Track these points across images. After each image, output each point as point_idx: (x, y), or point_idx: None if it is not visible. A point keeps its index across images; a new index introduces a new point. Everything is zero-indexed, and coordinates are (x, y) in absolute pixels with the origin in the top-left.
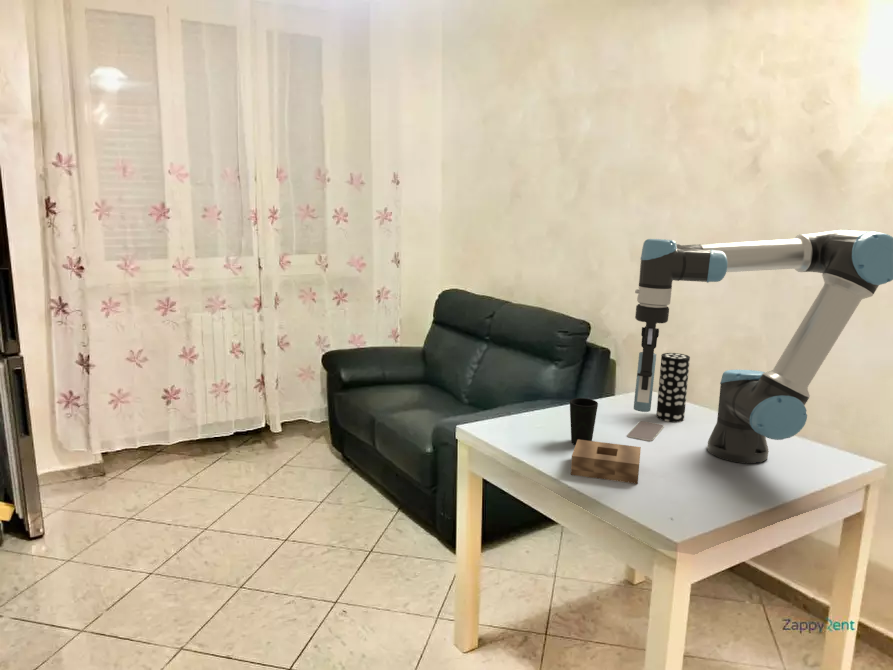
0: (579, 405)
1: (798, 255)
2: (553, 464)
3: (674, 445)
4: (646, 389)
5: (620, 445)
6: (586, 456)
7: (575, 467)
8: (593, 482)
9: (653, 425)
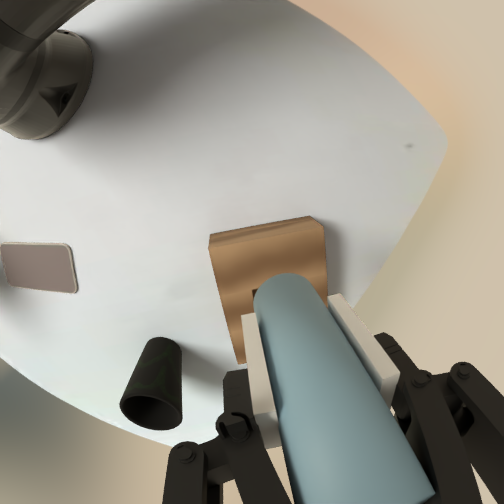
0: (181, 416)
1: None
2: None
3: (61, 198)
4: (386, 337)
5: (224, 290)
6: None
7: None
8: (333, 285)
9: (10, 260)
